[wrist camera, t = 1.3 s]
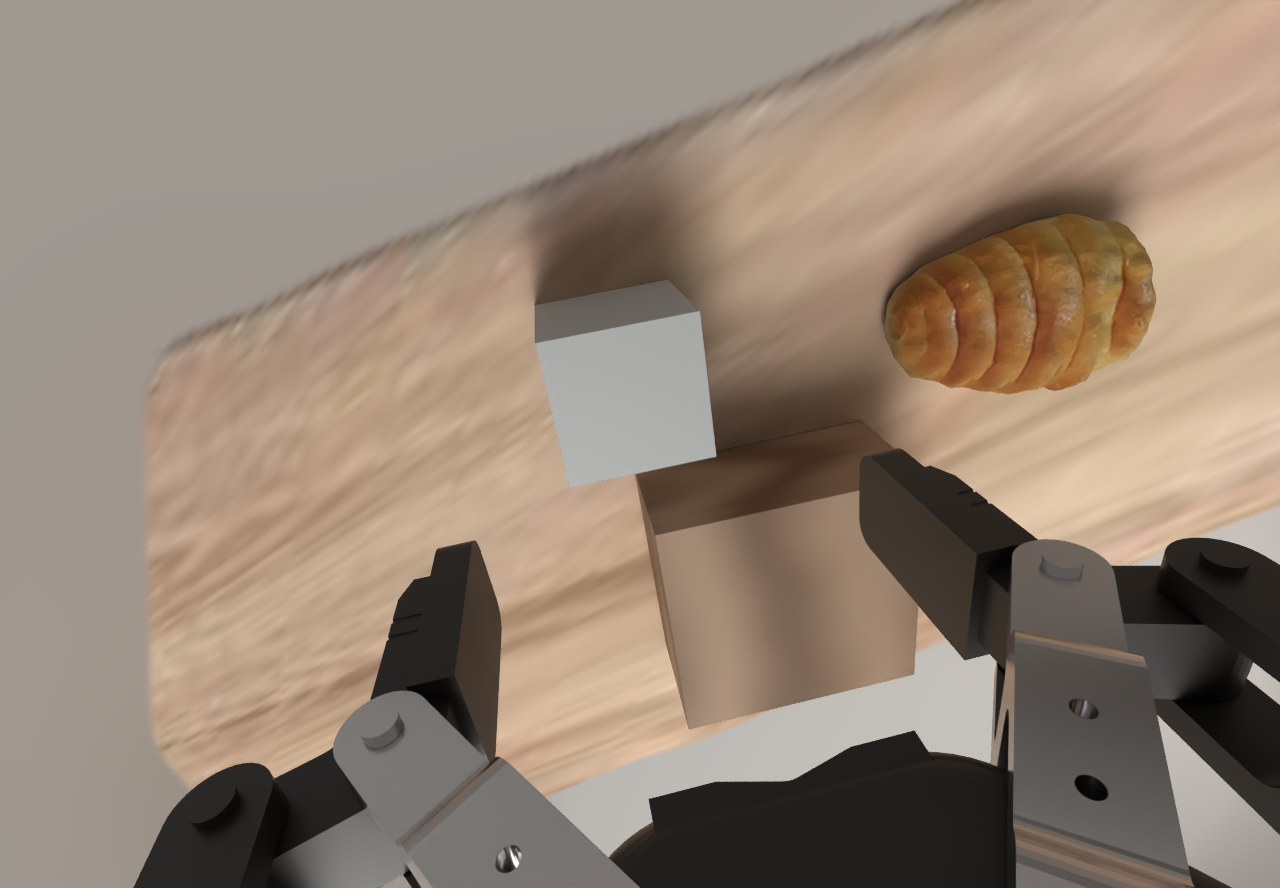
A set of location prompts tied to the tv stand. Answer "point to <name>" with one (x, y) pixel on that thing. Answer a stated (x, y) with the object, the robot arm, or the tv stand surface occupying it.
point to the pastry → (1025, 307)
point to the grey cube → (625, 381)
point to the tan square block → (773, 576)
